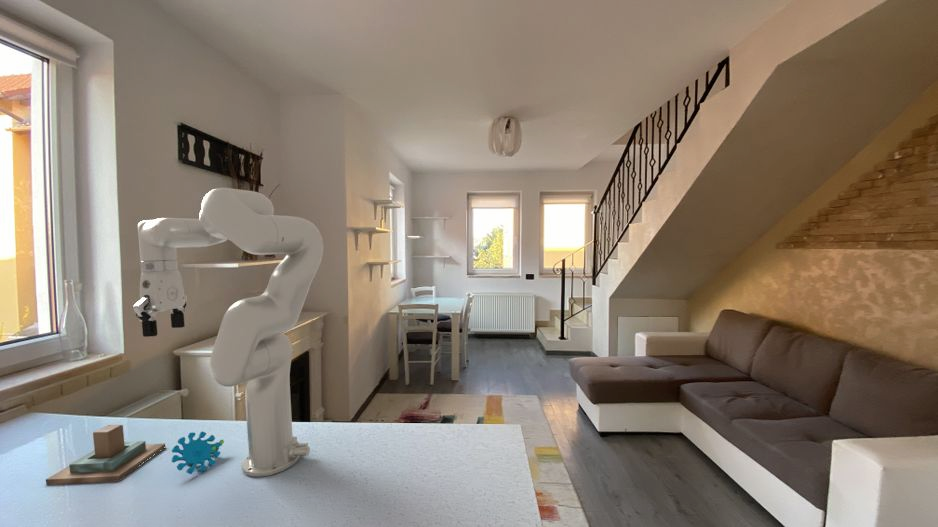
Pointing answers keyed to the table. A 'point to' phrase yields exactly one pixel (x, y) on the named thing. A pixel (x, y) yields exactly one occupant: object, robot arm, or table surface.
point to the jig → (106, 465)
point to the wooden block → (108, 441)
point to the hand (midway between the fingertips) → (164, 331)
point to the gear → (196, 452)
